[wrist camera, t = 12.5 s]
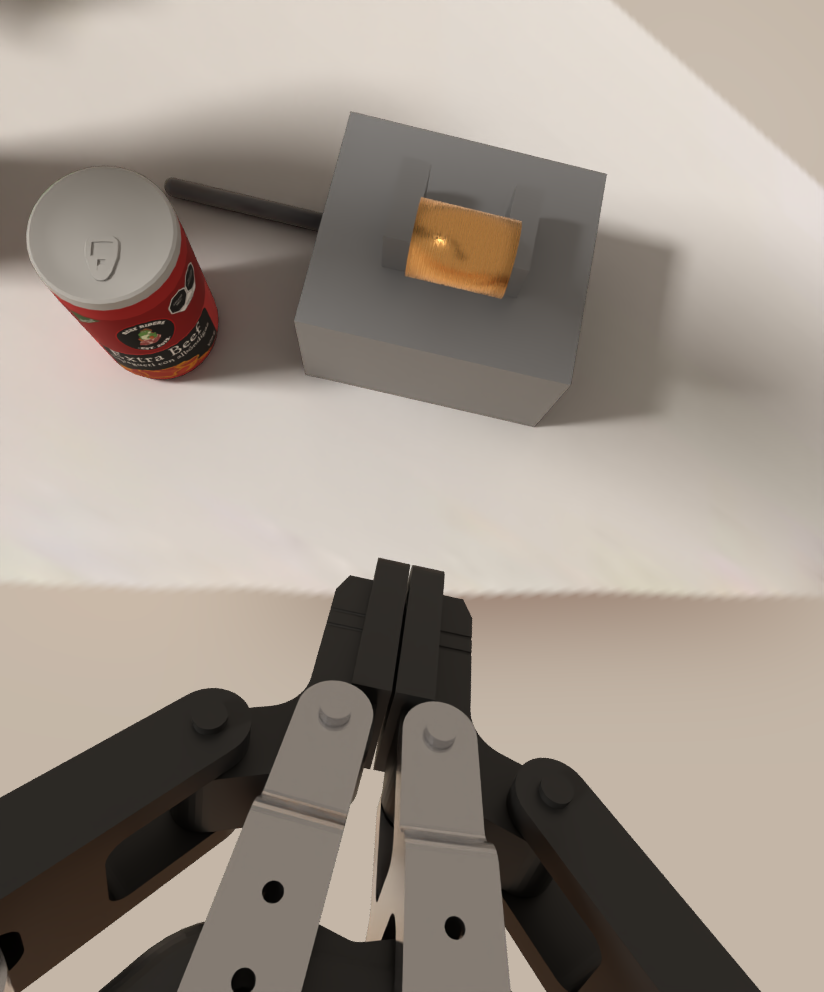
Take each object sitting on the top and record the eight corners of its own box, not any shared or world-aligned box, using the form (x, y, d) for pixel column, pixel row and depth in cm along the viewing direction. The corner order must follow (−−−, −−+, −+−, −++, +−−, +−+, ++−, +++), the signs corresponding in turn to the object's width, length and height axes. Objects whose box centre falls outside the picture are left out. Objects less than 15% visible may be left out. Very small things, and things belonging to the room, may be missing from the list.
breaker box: (121, 332, 44) (44, 237, 33) (179, 154, 47) (126, 15, 36) (534, 426, 45) (588, 364, 34) (566, 247, 48) (626, 138, 37)
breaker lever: (421, 247, 38) (402, 280, 26) (433, 191, 37) (419, 197, 24) (488, 263, 39) (502, 304, 26) (502, 208, 37) (524, 223, 24)
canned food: (121, 397, 43) (43, 321, 33) (92, 289, 45) (7, 183, 34) (235, 365, 44) (196, 282, 34) (203, 261, 46) (156, 148, 35)
